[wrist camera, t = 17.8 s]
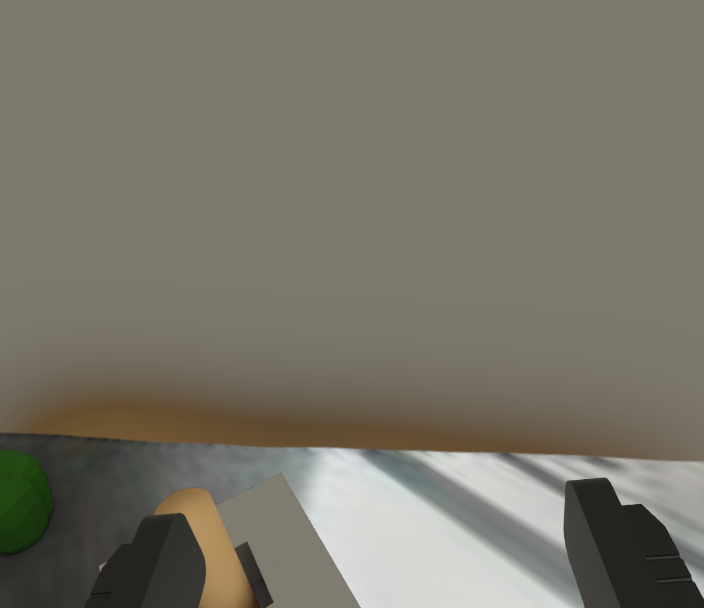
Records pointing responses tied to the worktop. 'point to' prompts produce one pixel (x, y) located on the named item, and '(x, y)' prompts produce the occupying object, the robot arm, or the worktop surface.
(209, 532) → the pin
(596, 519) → the robot arm
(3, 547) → the bell pepper
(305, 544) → the grey flat block
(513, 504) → the worktop surface
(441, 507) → the worktop surface
